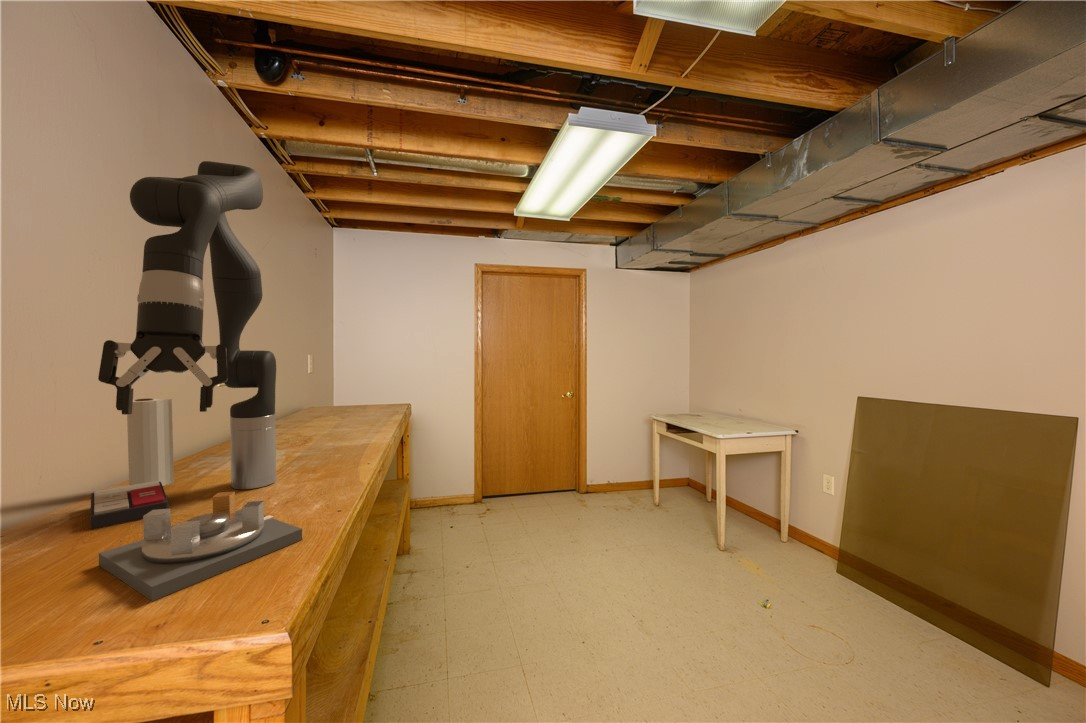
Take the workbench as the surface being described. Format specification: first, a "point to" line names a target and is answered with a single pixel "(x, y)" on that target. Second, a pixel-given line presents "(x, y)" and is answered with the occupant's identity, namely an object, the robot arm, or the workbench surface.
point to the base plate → (175, 576)
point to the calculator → (126, 503)
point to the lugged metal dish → (201, 531)
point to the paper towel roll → (150, 442)
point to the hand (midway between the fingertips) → (166, 412)
